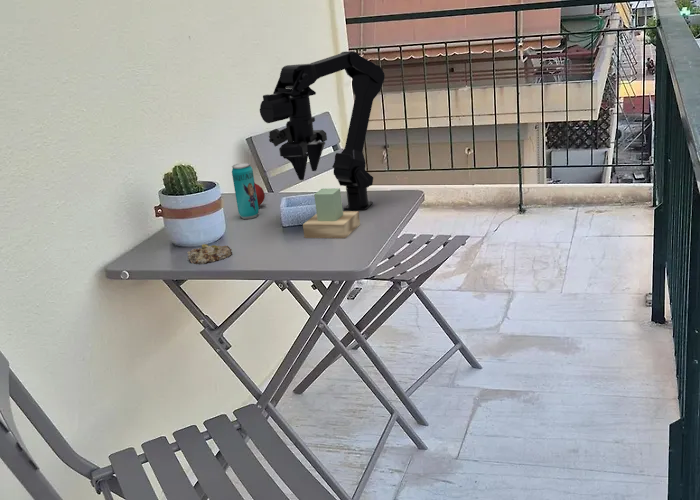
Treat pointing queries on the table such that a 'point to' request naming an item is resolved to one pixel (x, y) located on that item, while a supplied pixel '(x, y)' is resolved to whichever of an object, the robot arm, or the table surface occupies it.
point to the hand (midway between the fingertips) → (308, 175)
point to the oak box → (332, 226)
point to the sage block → (328, 204)
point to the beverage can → (245, 190)
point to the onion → (259, 194)
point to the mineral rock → (208, 254)
